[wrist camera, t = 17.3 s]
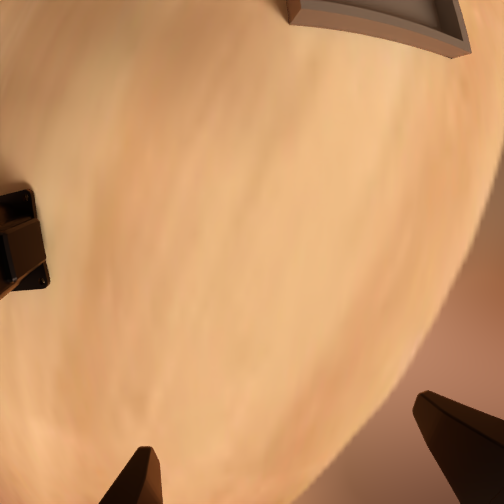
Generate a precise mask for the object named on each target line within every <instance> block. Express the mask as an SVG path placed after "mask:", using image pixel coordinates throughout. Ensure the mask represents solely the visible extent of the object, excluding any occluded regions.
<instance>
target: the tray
mask: <svg viewBox="0 0 504 504" xmlns="http://www.w3.org/2000/svg"><path fill="white" fill-rule="evenodd" d="M287 8H288V16H289V25H298V26H309V27H318V28H326V29H333V30H340V31H346V32H352V33H358V34H363V35H368V36H373V37H378V38H382V39H387V40H391V41H395V42H399V43H403V44H406V45H410V46H414V47H417V48H420V49H424V50H427V51H430V52H433V53H436V54H439V55H442V56H445V57H448V58H451V59H452V58H456V57H460V56H463V55H467V54H471V53H472V52H471V47H470V43H469V39H468V34H467V30H466V26H465V23H464V19H463V15H462V12H461V9H460V5H459V2H458V0H287Z"/></svg>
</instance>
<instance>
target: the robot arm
mask: <svg viewBox="0 0 504 504" xmlns="http://www.w3.org/2000/svg"><path fill="white" fill-rule="evenodd" d="M26 194H27V195H28V201H27V200H26V198H25V196H26ZM45 259H46V254H45V249H44V244H43V239H42V234H41V228H40V222H39V220H38V219H37V212H36V205H35V198H34V193H33V192H32V190H30V189H26V190H22V191H18V192H14V193H10V194H6V195H2V196H0V300H1V299H2V298H3V297H4V296H6V295H7V294H8V293H9V292H10V291H21V290H33V289H44V288H46V287H47V286H48V285H49V284H50V277H49V273H48V269H47V265H46V260H45ZM41 278H43V279H44V281H45V283H43V282H42V281H41ZM413 415H414V418H415V420H416V422H417V424H418V427H419V429H420V431H421V433H422V435H423V438H424V440H425V442H426V444H427V446H428V448H429V450H430V451H431V453H432V455H433V456H434V458H435V460H436V462H437V463H438V465H439V467H440V468H441V470H442V472H443V473H444V475H445V477H446V479H447V480H448V482H449V484H450V486H451V487H452V489H453V491H454V493H455V495H456V496H457V498H458V500H459V502H460V504H504V420H502V419H500V418H497V417H494V416H491V415H489V414H486V413H484V412H481V411H479V410H476V409H473V408H471V407H468V406H466V405H463V404H461V403H458V402H456V401H453V400H451V399H448V398H446V397H444V396H441V395H439V394H436V393H434V392H432V391H429V390H427V391H424V392H421V393H419V394H418V395H417V398H416V401H415V404H414V406H413ZM99 504H163V498H162V486H161V472H160V463H159V460H158V458H157V456H156V454H155V451H154V449H153V448H152V447H150V446H141V447H139V448H138V449H137V450H136V452H135V453H134V455H133V456H132V457H131V459H130V460H129V462H128V463H127V464H126V466H125V467H124V469H123V470H122V471H121V473H120V474H119V476H118V477H117V478H116V480H115V481H114V483H113V484H112V485H111V487H110V488H109V490H108V491H107V492H106V494H105V495H104V497H103V498H102V499H101V501H100V502H99Z"/></svg>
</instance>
